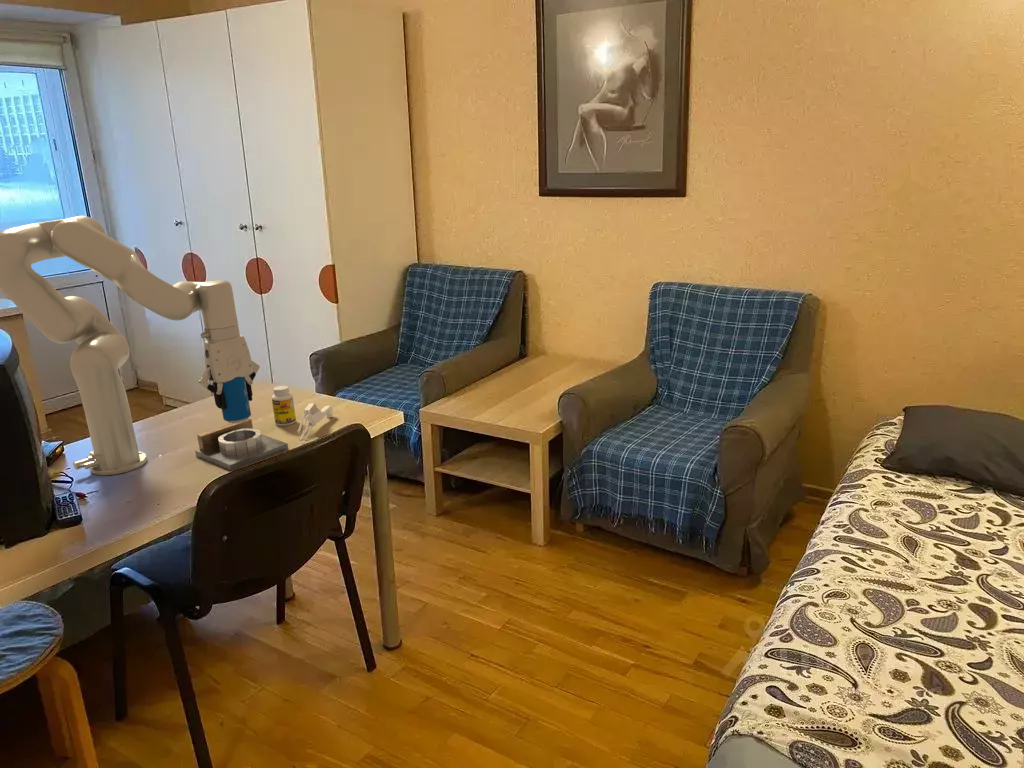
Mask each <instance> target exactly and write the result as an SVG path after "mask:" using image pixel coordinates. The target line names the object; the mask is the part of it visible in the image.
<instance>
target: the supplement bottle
mask: <svg viewBox="0 0 1024 768" xmlns="http://www.w3.org/2000/svg"><path fill="white" fill-rule="evenodd" d="M271 402H272V410H273V416H274V423H275V425H276V426H279V427H285V426H290V425H293V424H295V423H296V421H297V419H296V417H297V416H296V411H295V410H296V409H295V404H294V403H295V402H294V396H293V394H292V392H290V389H289V386H287V385H278V386H275V387H274V388H273V395H272V396H271Z"/></svg>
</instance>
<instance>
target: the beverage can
mask: <svg viewBox="0 0 1024 768" xmlns="http://www.w3.org/2000/svg"><path fill="white" fill-rule="evenodd" d="M222 393H223V394H224V396H225V402H226V409H224V410H223V409H221V411H222V412H221V413H222V418H223V420H224V421H225V422H227V423H228V424H231V423H239V422H243V421H246V420H247V419H250V417H251V416H252V412H251V407H250V401H249V399H248V393H247V387H246V381H245V377H235V378H234V379H232V380H231V381H229V382H226V383H223V387H222Z"/></svg>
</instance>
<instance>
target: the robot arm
mask: <svg viewBox="0 0 1024 768" xmlns="http://www.w3.org/2000/svg"><path fill="white" fill-rule="evenodd" d="M63 257H67V258H69V259H70V260H72V261H74V262H76V263H78V264H80V265H82V266H84V267H85V268H87V269H89V270H90V271H92V272H94V273H96V274H99V275H100V276H102V277H104V278H106V279H107V280H109V281H111V282H112V283H114V284H115V285H116V286H117V287H118V288H119V289H120V291H122V292H123V293H125V294H126V295H127V296H128V297H129V298H131V299H132V300H133V301H135V302H136V303H137V304H139V305H140V306H142V307H144V308H146V309H147V310H149V311H151V312H153V313H155V314H156V315H158V316H160V317H162V318H165V319H167V320H169V321H176V322H177V321H183V320H185V319H187V318H189V317H190V316H191V315H192V314H193V313H197V312H198V311H201V315H202V319H203V326H204V329H203V330H204V331H203V332H202V333H200V337H201V339H205V341H204V345H203V346H204V348H203V349H204V350H203V351H204V353H203V354H204V355H203V356H204V366H205V367H204V368H205V371H204V372H203V374H202V376H201V377H200V378H199V380H198V384H199V385H200V386H201V387H203V388H205V389H206V390H207V391H209V392H211V394H212V393H213V398H214V403H215V406H216V407H217V408H218V409H220V410H222V409H223V410H224V409H226V402H225V396H224V394H223V393H222V387H223V383H226V382H229V381H231V380H232V379H234V378H235V377H245V381H246V387H247V393H248V399H249V402H251V401H253V390H252V389H253V388H252V385H253V383H254V379H255V378H256V375H257V373H258V371H259V369H260V365H259V364H258V363H256V362H254V361H253V360H252V357H251V353H250V350H249V347H248V343H247V341H246V338H245V336H244V334H241V333H240V328H239V321H238V315H237V309H236V305H235V298H234V293H233V292H234V291H233V287H232V284H231V282H229V281H227V280H225V279H218V280H217V279H216V280H208V281H189V280H188V281H185V280H184V281H183V280H182V281H178V282H176V283H174V284H170V283H169V282H166V281H165V280H163V279H161V278H160V277H158V276H156V275H155V274H154V273H152V272H150V270H148V269H147V268H146V267H145V266H144V264H143V263H142V262H141V260H140V258H139V255H138V254H137V253H136V251H134V250H133V249H132V248H130V247H128V246H126V245H124V244H123V243H121V242H120V241H118V240H116V239H114V238H112V237H111V236H109V235H108V234H106V231H105V229H104V226H102V224H101V223H100V222H99V221H98V220H96V219H94V218H92V217H90V216H86V215H78V216H72V217H68V218H63V219H56V220H48V221H43V222H41V221H40V222H35V223H34V222H33V223H30V224H29V223H27V224H23V225H20V226H19V225H18V226H14V227H10V228H6V229H4V230H1V231H0V291H1V292H2V293H3V294H4V295H5V296H6V297H7V298H8V299H9V300H10V301H11V302H12V303H13V304H14V305H15V306H16V307H17V308H18V310H19V311H20V312H21V313H23V315H24V316H25V317H26V318H27V319H28V320H29V321H30V322H31V323H33V325H34V326H35V327H36V328H37V329H38V330H39V331H40V332H41V333H42V335H44V336H45V337H46V338H47V339H48V340H49V341H51V342H53V343H55V344H60V345H65V344H69V343H72V342H75V343H76V344H77V347H75V349H74V350H73V351H72V354H71V357H70V361H69V362H70V363H69V365H70V370H71V374H72V377H73V379H74V381H75V383H76V386H77V389H78V392H79V395H80V398H81V399H80V401H81V404H82V407H83V412H84V415H85V420H86V424H87V428H88V433H89V438H90V441H91V446H92V450H93V451H92V450H91V451H89V456H86V458H84V459H80V460H76V461H74V462H73V463H72V464H73V468H74V469H75V470H76V471H77V470H80V469H83V468H84V469H85V470H90V472H91V473H92V474H93V475H98V476H112V475H119V474H122V473H126V472H127V473H128V472H131V471H133V470H136V469H138V468H140V467H142V466H143V465H144V464H145V463H146V462H147V461H148V456H147V454H146V453H145V452H143V451H139V449H138V448H139V447H138V443H137V438H136V433H135V429H134V424H133V419H132V414H131V409H130V404H129V400H128V394H127V391H126V388H125V387H126V386H125V385H124V383H123V380H122V377H121V375H120V372H119V369H120V368H121V367H122V366H124V364H126V362H127V361H128V359H129V357H130V345H129V342H128V341H127V339H126V338H125V336H124V335H123V334H122V333H121V332H120V330H118V328H116V326H115V325H114V324H113V323H112V322H111V321H110V320H108V318H107V317H106V315H104V314H103V312H102V311H100V309H99V308H97V307H96V305H95V304H94V303H92V302H91V301H89V300H88V299H86V298H83V297H80V296H76V295H75V296H74V295H68V296H65V297H64V296H63V295H62V294H61V293H60V292H59V291H58V290H57V289H56V288H55V287H54V286H53V284H51V282H50V281H48V280H47V279H46V278H45V277H43V276H42V275H41V274H40V273H37V272H36V271H35V270H34V269H33V268H32V265H33V264H35V263H38V262H42V261H45V260H50V259H57V258H63ZM209 381H211V382H212V383H209Z"/></svg>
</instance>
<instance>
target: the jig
mask: <svg viewBox="0 0 1024 768" xmlns="http://www.w3.org/2000/svg"><path fill="white" fill-rule="evenodd" d="M252 421H253V420H252V419H251V418H248V419H247V420H246V421H243V422H239V423H228V424H226V425H225V424H224V425H223V426H220V427H217V428H213V429H210V430H207V431H205V432H201V433H198V434H197V435H196V436H197V441H198V448H199V449H196V450H194V452H195V457H197V458H199V457H200V459H201V458H202V460H204V461H207V462H209V463H211V464H213V465H216V466H217V467H218V466H219V467H221V468H223V469H225V470H228V471H230V472H232V471H235V470H237V469H239V468H242V467H245V466H247V465H250V464H253V463H255V462H258V461H261V460H263V459H267V458H268V457H271V456H274V455H277V454H279V453H281V452H284V451H288V450H289V443H287V442H284V441H282V440H278V439H276V438H273V437H270V436H268V435H264V434H262V431H261V430H260V429H256V428H254V427H253V422H252Z"/></svg>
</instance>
